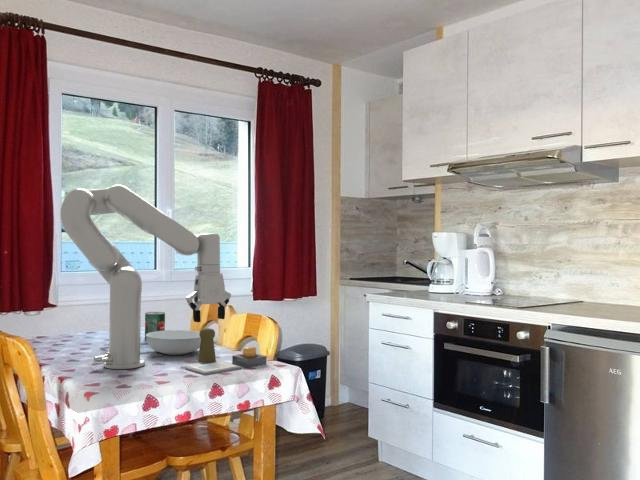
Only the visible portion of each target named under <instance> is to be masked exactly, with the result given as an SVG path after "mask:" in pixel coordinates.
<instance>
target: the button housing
mask: <svg viewBox="0 0 640 480" xmlns="http://www.w3.org/2000/svg"><path fill="white" fill-rule="evenodd" d="M231 364H234V365H237V366H241V367H242V368H246V369H249V368H254V367H253V366H255V367H259V366H258V365H260V366H264V365H267V356H266V355H264V354H263V355H262V354H258V353H256V357H252V358H246V357H243V353H242V354H241V353H240V354H235V355H232V362H231ZM248 367H249V368H248Z"/></svg>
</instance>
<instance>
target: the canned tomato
mask: <svg viewBox="0 0 640 480" xmlns="http://www.w3.org/2000/svg"><path fill="white" fill-rule="evenodd" d="M144 313H145V314H144V341H146V342H147V340H146V334H148V333H151V332H156V331H166V312H164V311H148V312H144Z"/></svg>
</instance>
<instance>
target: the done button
mask: <svg viewBox="0 0 640 480" xmlns="http://www.w3.org/2000/svg"><path fill="white" fill-rule="evenodd" d="M242 354H243V357H246V358H252V357H256V354H257V347H256V346H244V347H242Z"/></svg>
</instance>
